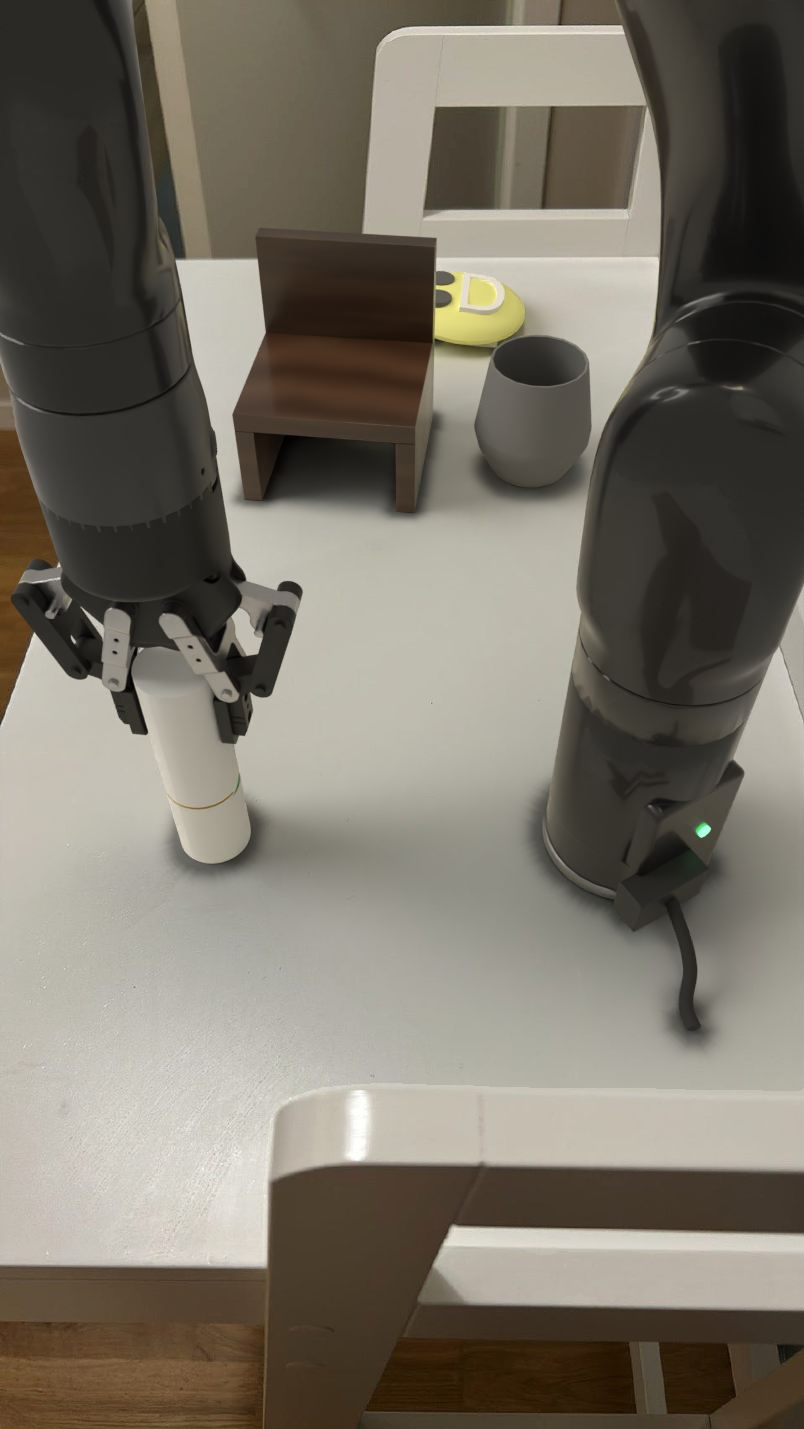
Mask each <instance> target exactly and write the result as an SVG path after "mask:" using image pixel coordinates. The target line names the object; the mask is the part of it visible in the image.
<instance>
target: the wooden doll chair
mask: <svg viewBox="0 0 804 1429" xmlns="http://www.w3.org/2000/svg"><path fill="white" fill-rule="evenodd" d="M254 241H255V250H256V257H257V258H256V259H257V267H258V275H259V283H260V293H261V294H260V295H261V303H262V304H261V305H262V310H263V318H264V319H263V320H264V321H263V322H264V332H265V333H264V335H263V337H262V340H261V343H260V345H259V347H258V350H257V353H256V355H255V358H254V359H253V362H252V365H251V367H250V370H249V372H248V375H247V377H246V380H245V382H244V384H243V386H242V389H241V391H240V394H239V396H238V399H237V401H236V404H235V407H234V409H233V411H232V414H231V415H232V423H233V430H234V437H235V442H236V450H237V458H238V464H239V471H240V478H241V486H242V493H243V498H244V499H243V500H249V501H250V500H252V501H263V499H264V496H265V494H266V491H267V487H268V485H269V481H270V479H271V476H272V473H273V470H274V468H275V465H276V462H277V460H278V459H277V458H278V456H279V453H280V449H281V447H282V444H283V441H284V438H285V436H296V437H297V436H298V437H299V436H300V437H309V438H311V437H313V438H324V439H325V438H327V439H338V440H351V441H364V442H365V441H366V442H377V443H378V442H380V443H394V444H395V511H396V512H401V513H402V512H403V513H415V512H416V506H417V502H418V497H419V492H420V486H421V480H422V475H423V471H424V465H425V461H426V460H425V459H426V454H427V448H428V445H429V439H430V435H431V434H430V433H431V430H432V425H433V424H432V423H433V418H434V384H435V383H434V381H435V380H434V379H435V343H436V342H435V340H436V339H435V298H436V271H437V249H438V247H437V245H438V238H437V237H430V236H429V237H428V236H414V235H413V236H412V235H395V234H376V233H375V234H374V233H357V232H343V231H342V232H341V231H326V230H325V231H323V230H305V229H289V228H288V229H287V228H271V227H258V229H257V232H256V233H255V236H254Z"/></svg>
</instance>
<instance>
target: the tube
mask: <svg viewBox="0 0 804 1429" xmlns="http://www.w3.org/2000/svg"><path fill="white" fill-rule="evenodd" d="M131 674H132V678H133V682H134V685H135V689H136V692H137V695H138V699H139V702H140V706H141V709H142V712H143V716H144V719H145V723H146V726H147V729H148V736H149V739H150V743H151V746H152V749H153V752H154V757H155V760H156V763H157V766H158V770H159V773H160V777H161V780H162V783H163V787H164V790H165V794H166V797H167V800H168V803H169V806H170V810H171V814H172V817H173V821H174V824H175V827H176V830H177V833H178V834H177V835H178V837H179V840H180V844H181V847H182V849H183V851H184V852H185V853H186V854H187V855H188V857H190V859H191V858H192V859H193V860H195V861H197V862H199V863H203V864H212V865H214V864H221V863H225V862H228V861H230V860H231V859H234V858H235V857H237V856H238V855H240V854H241V853H242V852H243V851H244V850H245V849H246V847H247V846H248V843H249V842H250V839H251V834H252V828H251V827H252V826H251V822H250V817H249V812H248V808H247V807H248V806H247V802H246V797H245V792H244V787H243V782H242V777H241V773H240V767H239V763H238V756H237V753H236V748H235V744H226V743H222V741H221V737H220V732H219V727H218V723H217V718H216V714H215V709H214V704H213V699H214V696H215V694H214V692H213V690H212V689H211V687H210V685H209V684H208V682H207V681H206V679H205V677H204V676H203V675H196V674H195V673H194V672H193V670H192V668H191V667H190V665H189V664H188V662H187V660H186V659H185V657H184V656H183V654H182V653H181V651H175V650H171V649H168V648H164V647H153V648H142V649H141V650H139V654H138V655H137V656H136V658H135V660H134V661H133V664H132V670H131Z"/></svg>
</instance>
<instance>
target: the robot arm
mask: <svg viewBox="0 0 804 1429" xmlns="http://www.w3.org/2000/svg"><path fill="white" fill-rule="evenodd" d="M133 3H134V0H0V367H1V370H2V372H3V376H4V378H5V382H6V384H7V388H8V392H9V396H10V402H11V406H12V414H13V415H12V416H13V421H14V426H15V431H16V434H17V438H18V442H19V445H20V449H21V452H22V454H23V457H24V461H25V464H26V467H27V470H28V473H29V476H30V479H31V482H32V485H33V488H34V491H35V494H36V497H37V501H38V504H39V506H40V509H41V512H42V514H43V518H44V521H45V524H46V527H47V530H48V533H49V535H50V539H51V542H52V545H53V548H54V551H55V554H56V558H57V561H58V563H59V566H57V567H53V565H52V564H50V563H49V562H48V561H46V560H44V559H41V558H33V559H31V560H30V561H29V563H28V565H27V567H26V568H25V570H24V571H23V573H22V576H21V578H20V579H19V582H18V583H17V585H16V586H15V589H14V591H12V592H13V593H11V596H10V603H11V604H12V605H13V607H14V608H15V609H16V611H17V612H18V613H19V614H20V616H21V617H22V619H23V620H24V621H25V622H26V623H27V626H29V627H30V629H31V630H32V631H33V633H34V634H35V635H36V636H37V638H38V639H39V640H40V642H41V644H42V645H43V646H44V647H45V649H47V651H48V653H50V655H51V656H52V657H53V659H54V660H55V661H56V663H57V664H58V665H59V666H60V667H61V669H62V670H63V672H64V673H65V674H66V675H67V676H68V677H69V678H72V679H74V680H77V681H83V680H86V679H87V678H88V677H89V676H90V677H93V678H96V679H99V680H100V681H101V683H102V685H103V687H104V688H106V689H107V690H109V691H110V695H111V698H112V701H113V705H114V707H115V710H116V714H117V716H118V719H119V720H120V721H121V722H122V723H123V724H124V725H129V729H130V732H131V734H133V735H139V736H147V735H149V733H148V729H147V726H146V723H145V719H144V716H143V712H142V709H141V706H140V702H139V699H138V695H137V692H136V689H135V685H134V682H133V678H132V674H131V670H132V664H133V661H134V660H135V658H136V656H137V655H138V654H139V653H140V651H141V650H140V649H144V648H153V647H164V648H168V649H171V650H175V651H181V653H182V654H183V656H184V657H185V659H186V660H187V662H188V664H189V665H190V667H191V668H192V670H193V672H194V673H195V674H196V675H203V676H204V677H205V679H206V681H207V682H208V684H209V685H210V687H211V689H212V690H213V692H214V694H215V696H214V699H213V704H214V709H215V714H216V718H217V723H218V727H219V732H220V737H221V741H222V743H226V744H234V745H237V743H238V741H239V737H245V736H247V735H246V734H247V733H248V730H249V726H250V723H251V719H252V716H253V713H254V707H253V700H252V695H253V696H254V697H257V698H261V699H263V698H264V699H265V698H269V697H271V696H272V694H273V692H274V689H275V686H276V683H277V679H278V677H279V673H280V671H281V668H282V664H283V661H284V658H285V655H286V652H287V650H288V649H287V648H288V645H289V643H290V640H291V637H292V633H293V631H294V628H295V627H294V626H295V623H296V619H297V616H298V612H299V609H300V605H301V601H302V598H303V594H304V590H303V588H302V586H301V585H300V584H299V583H297V582H295V581H292V580H283V581H282V582H281V581H280V583H279V584H278V585H277V589H274V588H271V587H268V586H264V585H261V584H258V583H254V582H251V581H248V580H247V576H246V573H245V572H244V570H243V569H242V568H241V566H240V565H239V564H238V562H237V561H236V560H235V558H234V555H233V553H232V548H231V546H232V545H231V538H230V537H231V536H230V531H229V524H228V518H227V513H226V507H225V500H224V494H223V489H222V482H221V476H220V470H219V464H218V458H217V456H218V444H217V436H216V431H215V430H214V427H213V426H212V422H211V418H210V412H209V410H210V409H209V406H208V402H207V397H206V394H205V391H204V387H203V384H202V381H201V378H200V375H199V372H198V369H197V366H196V363H195V359H194V358H195V357H194V354H193V353H194V352H193V348H192V342H191V336H190V330H189V323H188V319H187V312H186V306H185V301H184V294H183V289H182V284H181V279H180V275H179V270H178V265H177V261H176V256H175V252H174V249H173V246H172V243H171V239H170V236H169V233H168V231H167V228H166V224H165V223H164V222H163V220H162V218H161V216H160V214H159V204H158V197H157V196H158V195H157V188H156V180H155V172H154V165H153V164H154V163H153V157H152V149H151V142H150V136H149V131H148V122H147V116H146V107H145V100H144V91H143V84H142V77H141V76H142V75H141V69H140V61H139V60H140V59H139V53H138V45H137V38H136V31H135V30H136V29H135V20H134V19H135V18H134V9H133ZM614 3H615V7H616V10H617V13H618V17H619V20H620V24H621V27H622V30H623V34H624V37H625V40H626V43H627V47H628V50H629V52H630V55H631V58H632V61H633V64H634V67H635V70H636V74H637V77H638V80H639V83H640V86H641V89H642V93H643V96H644V99H645V103H646V106H647V109H648V113H649V116H650V120H651V121H650V122H651V125H652V126H651V127H652V130H653V135H654V140H655V146H656V153H657V162H658V171H659V189H660V190H659V193H660V195H659V196H660V225H659V226H660V227H659V228H660V229H659V230H660V232H659V233H660V234H659V257H658V273H657V288H656V289H657V290H656V301H655V308H654V309H655V311H654V318H653V325H652V331H651V335H650V339H649V341H648V344H647V347H646V350H645V354H644V355H643V358H642V359H641V360H640V362H639V364H638V365H637V368H636V369H635V371H634V373H633V375H632V376H631V377H630V380H629V381H628V383H627V385H626V386H625V388H624V390H623V391H622V393H621V395H620V396H619V398H618V399H617V401H616V403H615V405H613V406H614V407H613V408H612V410H611V412H610V414H609V416H608V417H607V419H606V422H605V423H604V426H603V428H602V431H601V434H600V437H599V441H598V443H597V447H596V450H595V455H594V459H593V464H592V468H591V469H592V470H591V473H590V479H589V485H588V491H587V497H586V504H585V512H584V519H583V527H582V536H581V543H580V551H579V558H578V565H577V574H576V583H575V584H576V585H575V589H576V599H577V604H578V607H579V610H580V617H579V622H578V628H577V633H576V634H577V635H576V641H575V646H574V652H573V657H572V662H571V666H570V667H571V668H570V672H569V678H568V685H567V691H566V695H565V700H564V707H563V712H562V718H561V723H560V730H559V735H558V741H557V746H556V751H555V752H556V753H555V757H554V764H553V768H552V774H551V779H550V780H551V781H550V788H549V794H548V799H547V801H546V803H545V808H544V812H543V818H542V823H541V824H542V828H541V830H542V840H543V842H544V846H545V849H546V851H547V854H548V855H549V858H550V859H551V861H552V862H553V864H554V865H555V866H556V868H557V869H558V870H559V871H560V872H561V873H562V874H563V875H564V876H565V877H566V879H568V880H569V881H571V882H572V883H574V884H575V885H577V886H578V887H580V888H581V889H582V890H585V891H587V892H589V893H591V894H594V895H597V896H599V897H602V898H605V899H610V900H613V903H612V906H611V907H612V909H613V910H614V911H615V912H616V914H617V915H618V916H619V917H620V918H621V920H622V921H623V922H624V923H625V924H626V925H627V927H628V928H629V929H630V930H631V932H632V933H636V932H637V931H639V930H641V929H642V928H644V927H646V926H648V925H649V924H650V923H651V924H652V923H653V922H654V921H656V920H657V919H659V918H661V917H662V916H665V915H666V914H667V915H668V916H669V920H670V923H671V925H672V928H673V932H674V935H675V937H676V939H677V944H678V947H679V951H680V957H681V964H682V977H681V982H680V988H679V992H678V993H679V994H678V1007H679V1013H680V1016H681V1019H682V1021H683V1024H684V1026H685V1028H686V1031H687V1032H695V1031H697V1030H699V1029H701V1027H702V1025H701V1023H700V1020H699V1018H698V1016H697V1014H696V1011H695V1005H694V997H695V991H696V987H697V981H698V961H697V954H696V949H695V945H694V941H693V938H692V935H691V932H690V929H689V926H688V923H687V921H686V917H685V914H684V912H683V910H682V904H684V903H686V902H688V901H689V900H690V899H693V898H694V897H696V896H698V895H700V893H701V891H702V888H703V886H704V884H705V881H706V878H707V876H708V873H709V871H710V867H709V863H710V861H711V858H712V856H713V854H714V852H715V849H716V846H717V844H718V842H719V839H720V837H721V834H722V831H723V829H724V827H725V825H726V822H727V820H728V817H729V814H730V812H731V809H732V807H733V804H734V802H735V800H736V797H737V795H738V793H739V790H740V788H741V785H742V782H743V780H744V778H745V775H746V774H745V770H744V768H743V767H742V766H741V765H740V764H739V763H738V762H737V761H736V760H735V759H734V757H735V755H736V753H737V751H738V750H737V749H738V747H739V744H740V741H741V739H742V737H743V734H744V732H745V728H746V727H747V724H748V721H749V718H750V716H751V713H752V710H753V708H754V706H755V703H756V701H757V698H758V695H759V694H760V690H761V687H762V685H763V682H764V680H765V678H766V675H767V672H768V669H769V667H770V665H771V662H772V659H773V657H774V656H775V653H776V652H777V651H778V649H779V647H780V645H781V643H782V640H783V639H784V637H785V633H786V630H787V628H788V626H789V622H790V620H791V618H792V615H793V614H794V610H795V608H796V606H797V603H798V601H799V598H800V596H801V593H802V591H803V589H804V0H614ZM238 609H242V610H243V611H244V612H246V613H247V614H248V616H249V624H250V626H251V627H252V629H254V631H253V635H254V636H255V637H256V638H258V639H259V638H260V639H261V638H262V639H261V642H260V646H259V648H258V652H257V653H255V654H249V655H247V654H246V652H245V650H244V648H243V646H242V644H241V643H240V640H239V639H238V638H237V634H236V624H235V620H234V619H233V617H232V616H233V615H234V614H235V613H236V612H237V610H238ZM86 613H88V614H89V615H90V616H91V617H92V618H93V619H94V620H96V621H97V622H98V623H99V624H101V626H102V628H103V636H102V634H101V633H100V632H99V631H98V630H97V627H96V626H95V625H94V624H93V622H92V621H91V619H90V618H89V616H88V615H87V614H86ZM73 640H74V641H75V642H74V641H73ZM251 694H252V695H251Z"/></svg>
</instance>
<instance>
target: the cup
mask: <svg viewBox="0 0 804 1429" xmlns="http://www.w3.org/2000/svg"><path fill="white" fill-rule="evenodd" d="M590 372H591V370H590V361H589V358H588V355H587V353H586V352H585V351H584V350H583V349H582V348H581V347H580V346H578V345H577V344H575V343H573V342H572V341H569V340H567V339H565V338H562V337H557V336H552V335H547V334H527V335H519V336H515V337H512V338H509V339H507V340H504V341H502V342H501V343H499V345H497V347H496V348H493V351H492V353H491V356H490V359H489V362H488V367H487V371H486V375H485V379H484V383H483V387H482V390H481V395H480V398H479V402H478V406H477V410H476V415H475V419H474V424H473V427H474V433H475V437H476V441H477V445H478V447H479V449H480V451H481V453H482V454H483V456H484V458H485V460H486V463H487V464H488V466H489V467H490V469H491V470H492V472H493V473H494V474H495V475H496V476H497V477H498V478H499V479H501V480H503V481H504V482H506V483H508V484H510V485H514V486H517V487H521V488H534V489H536V488H541V487H546V486H549V485H552V484H553V483H556V482H558V481H559V480H560V479H562V477H564V475H566V473H567V472H568V471H569V470H570V469H571V468H572V466H574V464H575V463H576V462H577V461H578V459H579V458H580V457H581V456H582V455H583V453H584V452H585V451H586V449H587V447H588V445H589V441H590V436H591V434H592V426H593V425H592V401H591V400H592V399H591V375H590V374H591V373H590Z"/></svg>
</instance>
